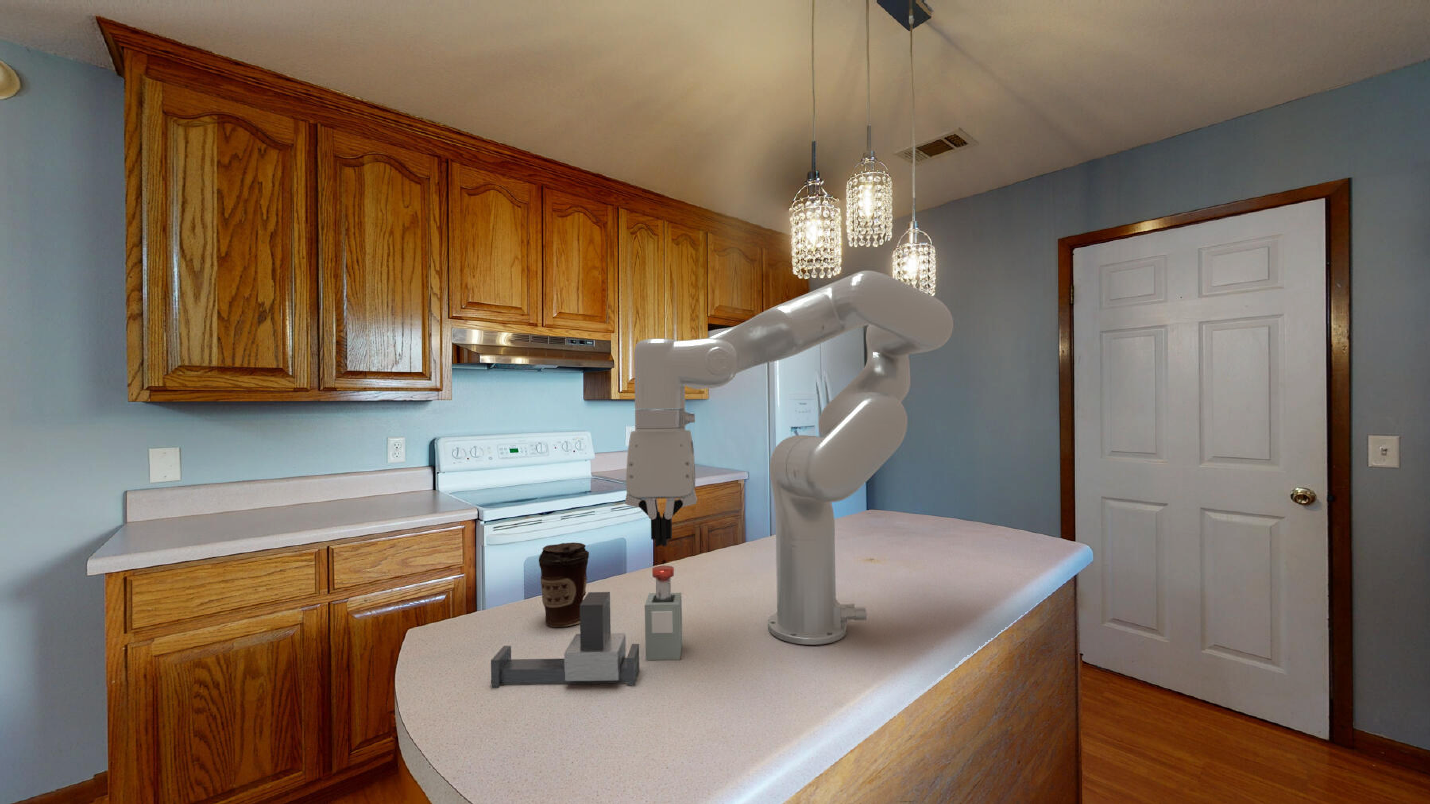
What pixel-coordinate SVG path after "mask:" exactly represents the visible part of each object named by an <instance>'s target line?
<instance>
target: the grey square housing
mask: <svg viewBox="0 0 1430 804" xmlns="http://www.w3.org/2000/svg"><path fill="white" fill-rule="evenodd" d="M682 599H683V598H682V592H671V602H661V603H656V592H654V593H653V592H650V593H648V596H647V598H646V599H645V603H644V633H645V634H644V638H645V642H644V643H645V648H644V649H645V661H672V660H673V661H674V660H677V661H678V660H681V657H682V655H681V654H682V649H683V615H682V614H683V612H682V611H683V610H682V607H683V606H682V605H683V603H682V602H683V601H682Z"/></svg>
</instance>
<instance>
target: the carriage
mask: <svg viewBox="0 0 1430 804" xmlns="http://www.w3.org/2000/svg"><path fill="white" fill-rule="evenodd" d="M611 628H612V627H611V592H610V591H589V592H587V593H586V595H585V596H584V598H583V601H582V603H581V604H580V623H579V631H580V633H575V635H574V636H573V638H572V640H571V642H570V643H569V645H568V646H567V648H566V649H565V650H564V652H563V653H564V654H563V655H564V658H563V659H564V665H565V681H603V680H619V677H620V665H621V662H622V659H623V658H627V656H626V652H627V651H626V650H627V649H626V647H627V645H626V642H627V641H626V637H627V636H626V632H613V633H612V632H611Z"/></svg>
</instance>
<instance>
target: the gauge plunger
mask: <svg viewBox="0 0 1430 804" xmlns="http://www.w3.org/2000/svg"><path fill="white" fill-rule="evenodd" d="M651 569H652V570H651V571H652V572H651V573H652V578H654V579H655V590H656V591H655V593H656V603H661V602H671V593H672V585H671V584H672V581H671V579H672V577H674V575H675V567H673V566H671V565H658V566H654V567H652V568H651Z"/></svg>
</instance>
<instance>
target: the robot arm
mask: <svg viewBox="0 0 1430 804" xmlns="http://www.w3.org/2000/svg"><path fill="white" fill-rule="evenodd" d="M866 326H867V328H866V333H865V341H866V342H865V343H866V349H867V350H866V351H867V358H866V363H865V365H864V367H863V369H862V370H861V371H860V372H859V373H858V374H857V375H856V377H855V378H854V379H853V380H851V382H850V383H848V385H846V386H845V387H844V388H843V389H842V390H841V391H840V392H838V394H837V395H836V396H834V397H833V399H831V400H830V401H829V402H828V403H827V405H825V407H824V408H823V410H822V411H821V412H820V415H819V417H818V419H819V420H818V429H819V433H820V434H821V436H818V435H817V436H816V435H806V434H799V435H792V436H788V437H787V438H785V439H783V440H781V441H780V442H779V443H778V444H777V445H776V446H775V448H774V449H773V452H772V454H771V457H770V461H769V462H770V463H769V476H770V483H771V489H772V493H773V494H772V495H773V500H774V501H773V502H774V512H775V557H776V558H775V560H776V563H775V564H776V601H777V602H776V609H777V612H776V613H774V614H772V615H770V616H769V618H768V620H767V629H768V631H769V632H770V634H771V635H772V636H774V637H775V638H777V639H779V640H782V641H783V642H787V643H792V644H797V645H807V646H808V645H809V646H812V645H815V646H816V645H818V646H819V645H825V644H831V643H834V642H837V641H839V640H840V639H842V638H844V636H846V633H847V622H848V621H849V620H854V621H867V619H868V616H867V609H866V607H856V606H855V604H854V603H845V604H844V603H843V604H841V603H840V602H839V601H838V599H837V589H836V588H837V587H836V586H837V585H836V584H837V583H836V538H835V537H836V532H835V531H836V528H835V527H836V526H835V514H834V509H833V508H834V507H833V504H832V503H837V502H842V501H845V500H846V499H848V498H849V497H851V496H852V495H854V494H855V493H856V492H857V491H858V490H859V489H861V488H862V487H863V485H865V484H866V482H867V481H868V480H870V479H871V477H872V476H873V475H875V473H876V472H877V471H879V469H880V468H881V467H882V466H883V465H885V463H886V462H887V461H888V459H889V458H891V457H892V455H893V454H894V453H895V452H896V451H897V450H898V448H899V447H900V445H901V444H902V442H903V441H904V438H905V436H906V433H907V428H908V415H907V411H906V409H905V407H904V405H903V404H902V402H903V400H904V399H905V398H906V396H907V395H908V393H909V391H910V387H911V368H910V359H909V355H912V354H913V355H914V354H920V353H926V352H932V351H935V350H937V349H939V348H941V347H943V346H944V345H945V344H946V343H947V342H948V341H949V339H950V338H951V336H952V334H953V331H954V319H953V315H952V314H951V311H950V310H949V309H948V306H946V304H945V303H943V302H942V300H940V299H939V298H936V297H935V296H932V295H931V294H929V293H927V292H924V291H923V290H920V289H918V288H916V287H914V286H912V285H910V284H907V283H905V282H903V281H901V280H899V279H896V278H895V277H893V276H889V275H888V274H885V273H882V272H878V271H875V270H861V271H858V272H855V273H853V274H851V275H849V276H846V277H843V278H841V279H838V280H836V281H834V282H831V283H829V284H827V285H824V286H822V287H820V288H817V289H814V290H812V291H810V292H808V293H805V294H803V295H800V296H797V297H795V298H792V299H791V300H787V301H785V302H783V303H780V304H777V305H775V306H773V307H771V308H769V309H766V310H764V311H763V312H761V313H759V314H757V315H755V316H753V317H751V318H750V319H748V320H746V321H744V322H742V323H740V324H737V325H736V326H733V327H731V328H728V329H726V330H724V331H722V332H719V333H717V334H714V335H712V336H710V337H705V338H697V339H696V338H695V339H687V340H686V339H684V340H676V339H671V338H648V339H643V340H639V341H637V343H636V344H635V347H634V354H633V355H634V356H633V357H634V360H633V361H634V409H635V410H634V425H635V426H634V427H635V428H634V429H635V430H633V431H632V430H631V431H630V435H629V441H628V448H627V458H626V459H627V460H626V471H625V472H626V473H625V474H626V475H625V476H626V477H625V491H626V495H625V500H624V504H626V505H627V506H631V507H634V508H640V509H641V510H642V511H643V512H644V513H645V514H646V515H647V516H648V518H649V519H650V538H651V540H654V541H655V542H654V546H655V547H660V546H662V547H667V545H668V542H669V541H668V540H672V538H673V518H672V517H674V516H675V515H676V513H678V511H679V510H680V509H681V508H685V507H689V506H692V505H696V503H697V501H698V497H697V494H696V490H695V489H696V465H695V449H694V442H693V436H692V432H691V430H689V429H688V430H687V429H686V426H688V424H689V425H690V423H695V422H696V421H695V420H696V417H695V416H696V415H695V413H690V412H687V411H686V387H688V388H689V389H693V390H705V389H713V388H714V389H715V388H718V387H722V386H725V385H727V384H728V383H730V382H731V381H732V380H733V379H734V378H735V377H736V375H737V374H738V373H740V372H743V371H746V370H748V369H752V368H753V367H757V366H760V365H765V364H768V363H772V362H777V361H778V362H779V361H781V360H784V359H785V360H786V359H787V358H790V357H793V356H796V355H799V354H800V353H802V352H805V351H807V350H809V349H811V348H813V347H815V346H819V345H820V344H822V343H824V342H827V341H830V340H831V339H834V338H836V337H838V336H841V335H842V334H843V335H844V334H845V333H847V332H849V331H852V330H855V329H858V328H861V327H866ZM657 499H666V501H665V508H664V512H663V514H662V516H661V512H660V511H659V507H658V501H657Z"/></svg>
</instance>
